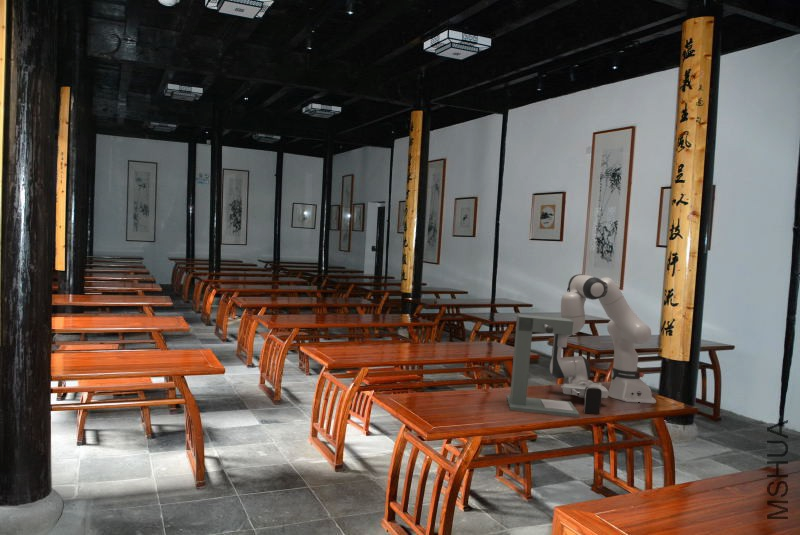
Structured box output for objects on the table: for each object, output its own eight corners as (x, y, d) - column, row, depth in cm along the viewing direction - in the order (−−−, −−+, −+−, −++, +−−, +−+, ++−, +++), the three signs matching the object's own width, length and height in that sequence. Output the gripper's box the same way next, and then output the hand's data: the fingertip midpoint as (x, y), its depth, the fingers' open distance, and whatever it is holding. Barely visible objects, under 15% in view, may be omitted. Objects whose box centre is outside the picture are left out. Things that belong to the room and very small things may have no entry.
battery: (597, 412, 261) (599, 386, 261) (600, 414, 257) (602, 388, 257) (581, 410, 261) (583, 385, 260) (584, 413, 257) (586, 387, 257)
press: (570, 404, 270) (578, 318, 268) (582, 422, 242) (591, 326, 241) (506, 398, 273) (514, 312, 271) (511, 415, 245) (519, 320, 243)
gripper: (560, 379, 281) (565, 385, 267) (604, 383, 279) (611, 390, 265) (559, 392, 281) (564, 399, 267) (603, 396, 279) (610, 404, 265)
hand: (588, 395), depth 266 cm, fingers open, 8 cm apart
